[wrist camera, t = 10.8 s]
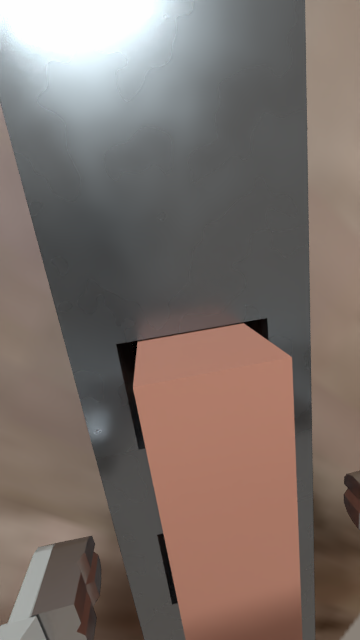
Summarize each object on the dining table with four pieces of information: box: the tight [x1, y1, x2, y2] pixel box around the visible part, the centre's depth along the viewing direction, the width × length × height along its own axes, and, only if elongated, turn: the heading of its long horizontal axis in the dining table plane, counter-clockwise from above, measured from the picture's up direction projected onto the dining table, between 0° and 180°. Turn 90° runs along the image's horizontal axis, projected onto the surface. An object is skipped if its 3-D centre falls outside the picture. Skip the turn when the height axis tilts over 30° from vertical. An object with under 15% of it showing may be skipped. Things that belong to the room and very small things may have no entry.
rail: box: [0, 0, 315, 640], centre depth 12 cm, size 30×8×4 cm, turn 8°
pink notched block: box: [133, 323, 303, 640], centre depth 11 cm, size 12×4×7 cm, turn 8°
